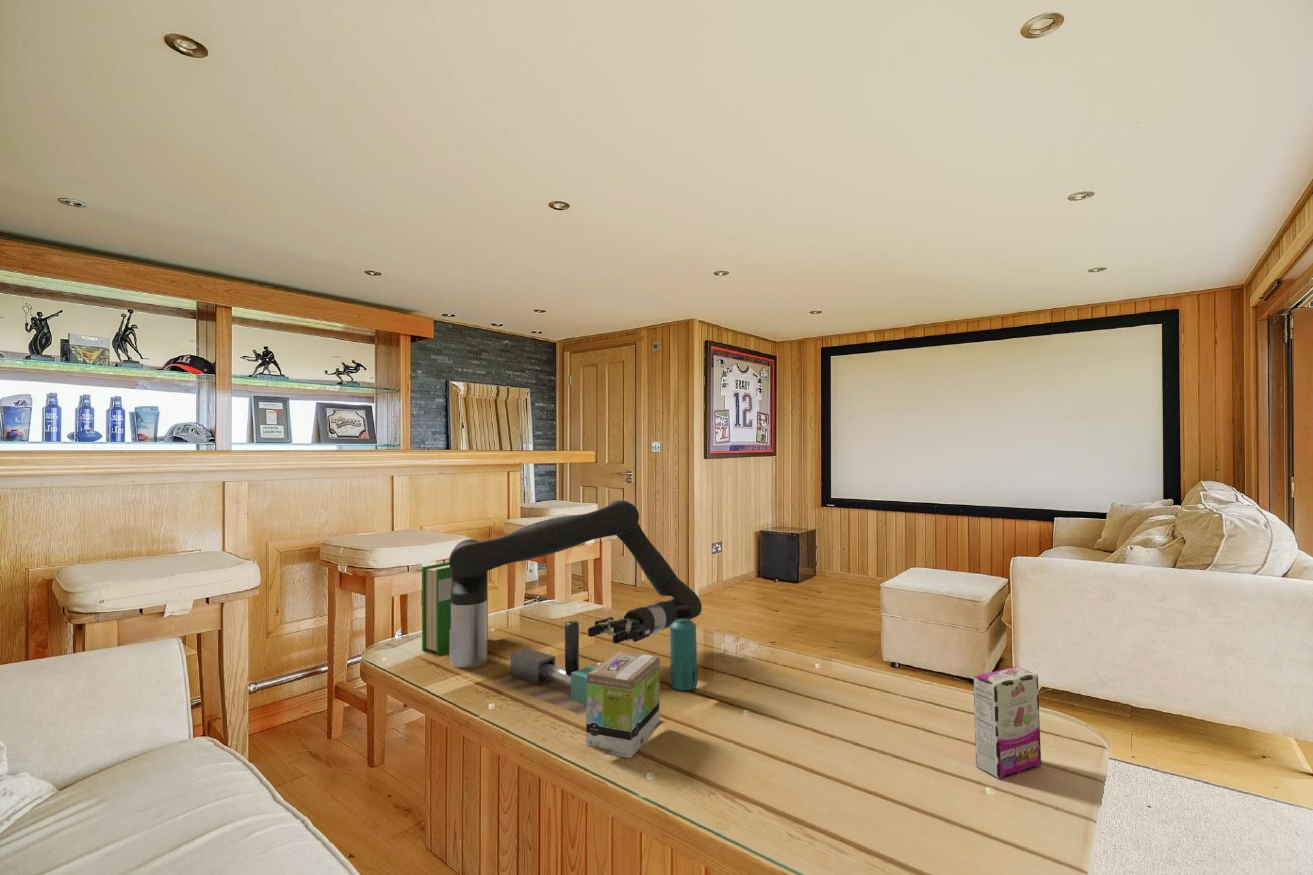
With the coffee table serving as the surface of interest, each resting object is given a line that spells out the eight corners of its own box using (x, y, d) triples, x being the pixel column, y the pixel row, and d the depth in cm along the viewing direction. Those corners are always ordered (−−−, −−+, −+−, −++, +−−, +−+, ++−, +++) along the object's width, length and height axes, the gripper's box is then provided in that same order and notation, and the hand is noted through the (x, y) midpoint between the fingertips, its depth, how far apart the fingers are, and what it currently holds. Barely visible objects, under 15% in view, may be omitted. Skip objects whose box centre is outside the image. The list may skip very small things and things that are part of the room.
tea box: (633, 760, 115) (632, 679, 115) (584, 751, 118) (584, 673, 118) (661, 726, 129) (660, 654, 129) (616, 719, 132) (616, 649, 132)
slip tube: (531, 676, 150) (531, 615, 150) (542, 672, 153) (542, 612, 153) (590, 697, 137) (590, 630, 137) (601, 693, 140) (601, 627, 140)
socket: (571, 699, 139) (571, 673, 139) (590, 691, 144) (590, 665, 144) (591, 707, 135) (591, 679, 135) (611, 698, 140) (610, 672, 140)
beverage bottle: (695, 698, 143) (695, 610, 143) (667, 696, 144) (666, 609, 144) (699, 687, 149) (698, 603, 149) (672, 685, 150) (671, 602, 151)
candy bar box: (1016, 754, 116) (1014, 665, 116) (1042, 766, 111) (1040, 674, 111) (973, 767, 111) (971, 674, 111) (998, 780, 107) (996, 684, 107)
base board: (494, 686, 151) (494, 681, 151) (539, 670, 162) (539, 665, 162) (579, 719, 132) (579, 714, 132) (624, 699, 142) (624, 693, 142)
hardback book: (438, 655, 174) (438, 569, 174) (422, 651, 178) (421, 567, 178) (487, 639, 188) (487, 559, 189) (471, 635, 193) (471, 557, 193)
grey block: (510, 676, 154) (510, 653, 154) (527, 670, 158) (527, 647, 158) (537, 686, 147) (537, 662, 147) (555, 680, 151) (555, 656, 151)
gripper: (625, 602, 168) (580, 615, 155) (666, 611, 158) (622, 625, 146) (625, 630, 167) (581, 645, 155) (666, 640, 158) (622, 657, 146)
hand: (601, 635), depth 150 cm, fingers open, 8 cm apart
